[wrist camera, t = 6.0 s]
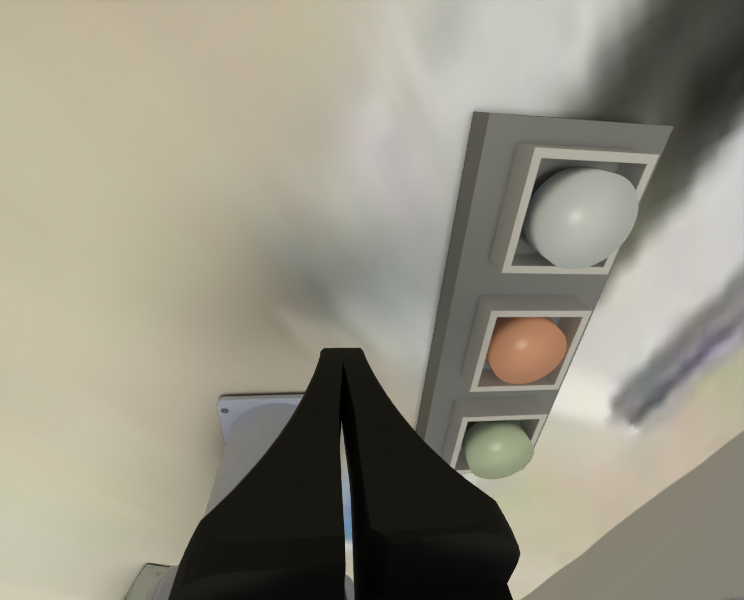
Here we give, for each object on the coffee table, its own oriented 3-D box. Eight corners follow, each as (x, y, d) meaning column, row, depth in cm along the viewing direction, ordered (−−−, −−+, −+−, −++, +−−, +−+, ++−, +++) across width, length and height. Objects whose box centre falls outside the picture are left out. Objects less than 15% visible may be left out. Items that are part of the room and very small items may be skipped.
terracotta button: (539, 365, 23) (552, 383, 22) (474, 367, 23) (484, 384, 21) (561, 308, 21) (577, 323, 20) (490, 307, 20) (502, 323, 19)
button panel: (517, 438, 30) (539, 478, 27) (414, 443, 29) (424, 484, 26) (641, 123, 18) (704, 129, 15) (473, 111, 17) (505, 115, 14)
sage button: (513, 457, 26) (523, 477, 25) (456, 460, 26) (463, 480, 24) (530, 415, 24) (542, 434, 23) (468, 417, 24) (476, 437, 22)
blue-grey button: (593, 257, 18) (614, 270, 17) (513, 255, 18) (528, 268, 17) (628, 168, 16) (656, 174, 15) (538, 163, 16) (558, 169, 14)
